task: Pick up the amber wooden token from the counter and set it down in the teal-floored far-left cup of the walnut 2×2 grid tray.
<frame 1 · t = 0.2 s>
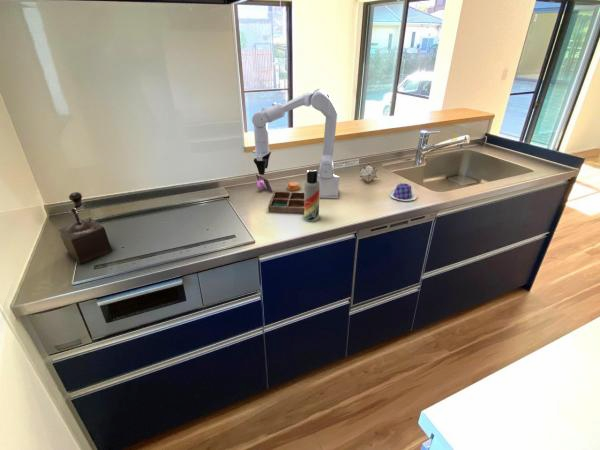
hand: (263, 171, 151), 10 cm above the countertop, tool pointing down, fingers open, 7 cm apart
grid: (289, 205, 145), on the countertop
pudding: (402, 196, 152), on the countertop
lotion bottle: (311, 218, 135), on the countertop
grey spiky ball: (367, 181, 167), on the countertop
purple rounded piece: (262, 190, 158), on the countertop
brown coffee grinder: (88, 249, 117), on the countertop
token: (293, 188, 160), on the countertop
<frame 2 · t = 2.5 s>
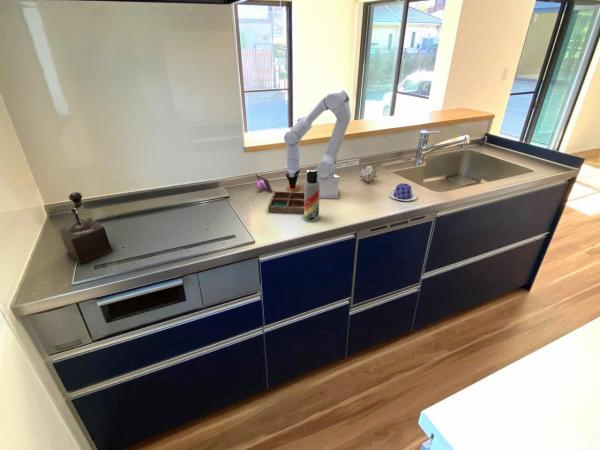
hand: (293, 185, 159), 1 cm above the countertop, tool pointing down, fingers closed on token, 5 cm apart
token: (293, 188, 160), on the countertop, touching gripper
everything else where it was.
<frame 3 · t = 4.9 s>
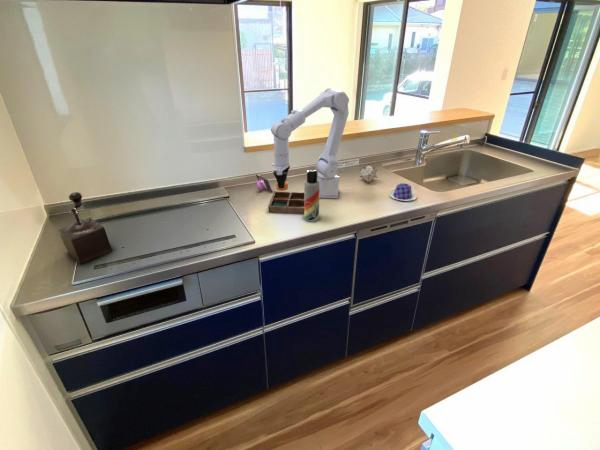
hand: (282, 185, 142), 8 cm above the countertop, tool pointing down, fingers closed on token, 5 cm apart
token: (282, 188, 143), point 7 cm above the countertop, touching gripper
everything else where it was.
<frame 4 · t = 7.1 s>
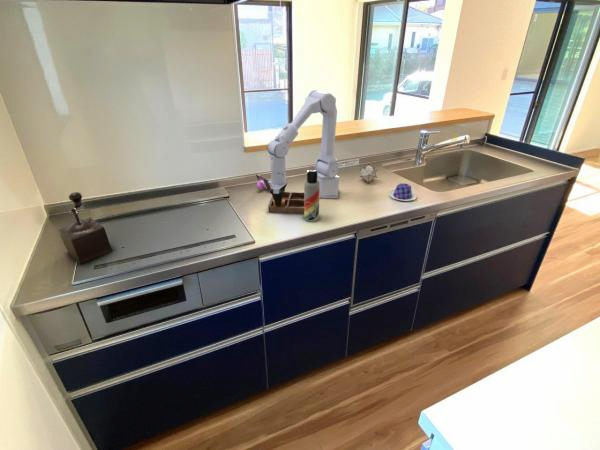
hand: (279, 202, 141), 3 cm above the countertop, tool pointing down, fingers closed on token, 5 cm apart
token: (279, 205, 142), point 1 cm above the countertop, touching gripper
everything else where it was.
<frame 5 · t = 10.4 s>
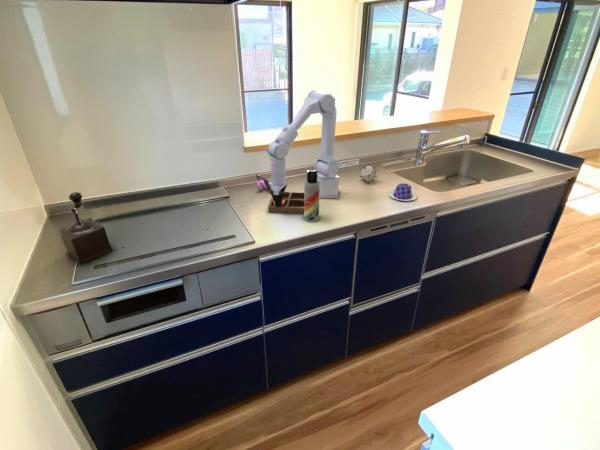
hand: (279, 203, 141), 2 cm above the countertop, tool pointing down, fingers closed on token, 5 cm apart
token: (279, 206, 142), point 1 cm above the countertop, touching gripper
everything else where it was.
when the fingers open (3 cm above the countertop, at t = 13.3 s): token drops 1 cm, resting on grid.
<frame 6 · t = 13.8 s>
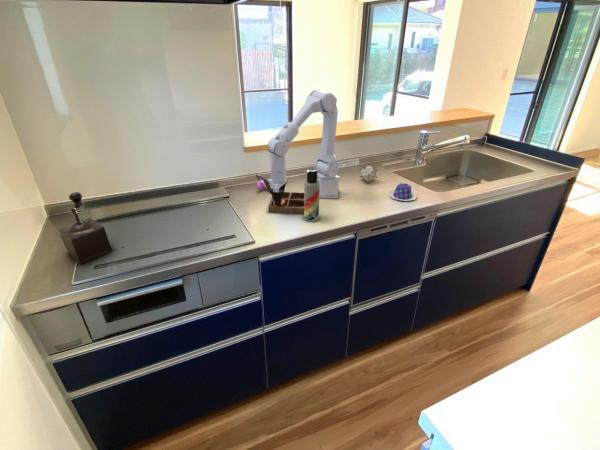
hand: (279, 201, 141), 3 cm above the countertop, tool pointing down, fingers open, 7 cm apart
token: (279, 207, 142), point 1 cm above the countertop, touching grid
everything else where it was.
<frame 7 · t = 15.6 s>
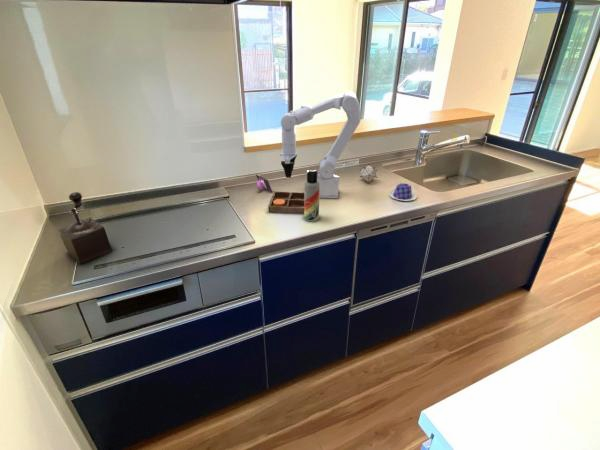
hand: (289, 173, 150), 9 cm above the countertop, tool pointing down, fingers open, 7 cm apart
nothing on the countertop moved.
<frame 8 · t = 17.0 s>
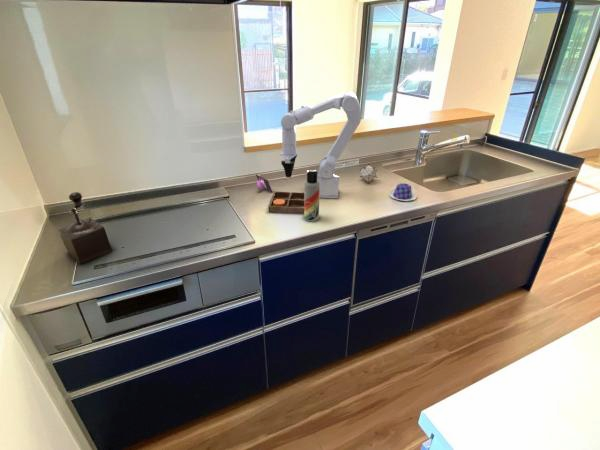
hand: (289, 173, 151), 9 cm above the countertop, tool pointing down, fingers open, 7 cm apart
nothing on the countertop moved.
at the end: token 0.1 cm from the target spot in the grid, point 0.7 cm above the grid's base; token tilted 0° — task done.
